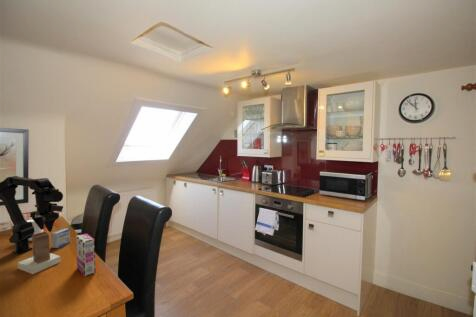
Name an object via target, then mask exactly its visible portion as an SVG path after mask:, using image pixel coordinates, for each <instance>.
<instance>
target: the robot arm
mask: <svg viewBox="0 0 476 317" xmlns="http://www.w3.org/2000/svg"><path fill="white" fill-rule="evenodd" d="M19 186H22V187H27V188H29V189H30V190H33V191H32V193H31V195H34V197H35V204H34V207H35V208H36V210H34V211H31V212H29V215H30V216H29V217H30V218H31V219H33V220H34V221H35V223H36V224H37V225H38V226H39V228H40V229H41V230H42V229H43V230H44V228H46V230H47V231H48V232H49V233H51V232H52V231H53V228H54V223H55V221H57V220H58V219H59V218H60V214H59V213H58V212H60V213H62V211H63V208H64V206H63V205H58V203H60V202H62V200H63V198H64V194H63V192H61V191H60V189H59V188H56V187H55V186H54V185H53V184H52V182H51V181H50V179H49V178H47V177H44V178H29V177H23V176H18V175H14V176H8V177H5V179H3V180H2V181H0V201H2V202H3V204H4V207H5V209H6V211H7V213H8V215H9V217H10V219H11V222H12V225H13V226H12V232H11V233H12V234H11V236H10V237H9V238H8V241H9V243H12V244H14V249H13V250H12V251H11V252H12V253H15V254H17V255H19V254H22V253H25V252H28V251H31V250H33V247H30V242H29V238H32V235H34V227H33V225H32V222H27V220H26V219H25V217H24V215H23V213H22V210H21V208H20V206H19V204H18V202H17V199H16V194H17V190H16V189H17V188H18V187H19Z"/></svg>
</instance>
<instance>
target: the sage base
mask: <svg viewBox="0 0 476 317" xmlns="http://www.w3.org/2000/svg"><path fill="white" fill-rule="evenodd" d="M61 261H62V260H61V255H58V254H55V253H52V252H51V253H50V260H47V261H44V262H41V263H39V264H37V263H36V262H34V260H33V256H31V257H29V258H25V259H23V260H20V261H18V262H17V269H19V270H21V271H24V272H26V273H29V274H31V275H34V274H37V273H39V272H41V271H43V270H45V269H48V268H51V267H53V266H54V265H56V264H60V263H61Z"/></svg>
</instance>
